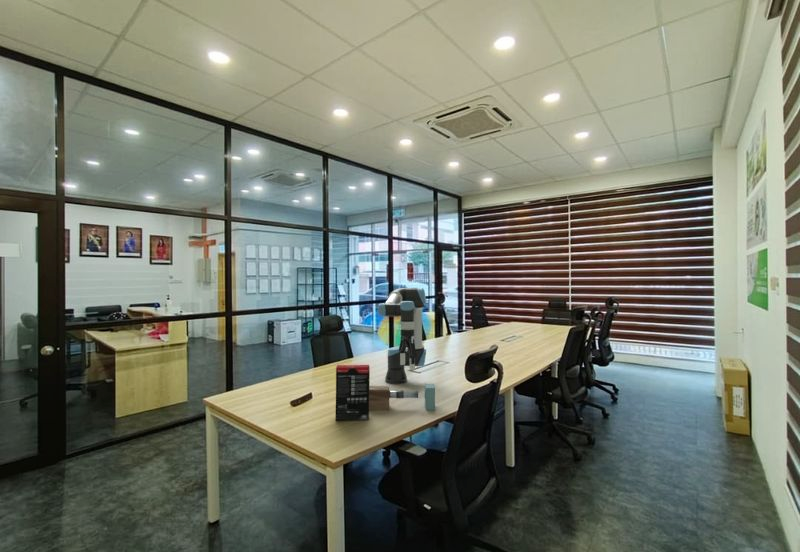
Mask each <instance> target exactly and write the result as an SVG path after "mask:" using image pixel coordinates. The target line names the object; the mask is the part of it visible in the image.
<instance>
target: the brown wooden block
mask: <svg viewBox="0 0 800 552" xmlns="http://www.w3.org/2000/svg"><path fill="white" fill-rule="evenodd" d="M389 391H390V385H369V411H373V410H374V411H375V410H376V411H380V410H381V411H382V410H383V411H389V410H390V398H389Z"/></svg>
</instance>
